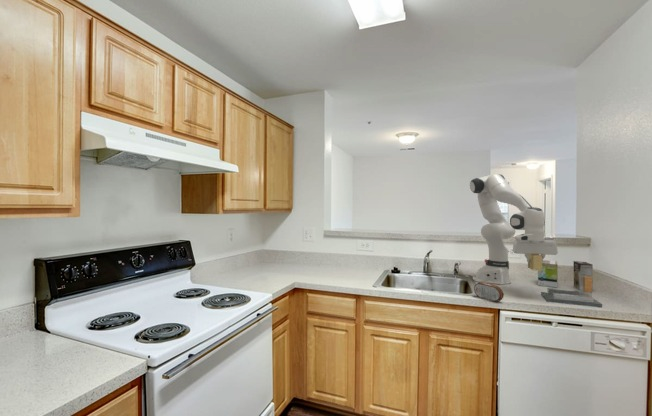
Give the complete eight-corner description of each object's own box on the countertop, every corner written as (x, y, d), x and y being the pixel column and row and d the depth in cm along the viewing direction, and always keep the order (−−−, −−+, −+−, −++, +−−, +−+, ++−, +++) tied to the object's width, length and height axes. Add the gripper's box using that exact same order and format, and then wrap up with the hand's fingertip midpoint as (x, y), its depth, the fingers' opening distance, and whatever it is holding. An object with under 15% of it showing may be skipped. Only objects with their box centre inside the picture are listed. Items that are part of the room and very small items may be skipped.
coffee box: (573, 287, 184) (572, 261, 184) (586, 288, 181) (585, 261, 182) (579, 290, 175) (579, 263, 175) (593, 291, 173) (593, 264, 173)
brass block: (533, 270, 158) (533, 255, 158) (527, 267, 166) (527, 253, 166) (542, 270, 157) (542, 255, 157) (536, 267, 165) (536, 253, 165)
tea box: (557, 288, 181) (557, 264, 182) (537, 285, 187) (537, 262, 188) (557, 283, 193) (557, 260, 194) (538, 281, 199) (538, 259, 200)
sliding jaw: (548, 293, 164) (548, 274, 164) (547, 291, 166) (546, 273, 166) (592, 297, 156) (592, 277, 156) (590, 295, 159) (590, 276, 159)
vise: (547, 301, 154) (547, 293, 154) (540, 294, 167) (540, 287, 167) (602, 307, 145) (602, 299, 145) (590, 299, 158) (590, 291, 158)
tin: (504, 302, 153) (503, 286, 153) (500, 303, 151) (500, 287, 151) (476, 295, 166) (476, 280, 166) (473, 296, 164) (473, 281, 164)
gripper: (554, 236, 162) (554, 262, 162) (511, 236, 168) (512, 260, 167) (559, 237, 156) (560, 264, 156) (515, 237, 162) (515, 262, 161)
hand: (534, 262), depth 162 cm, fingers closed on brass block, 4 cm apart
